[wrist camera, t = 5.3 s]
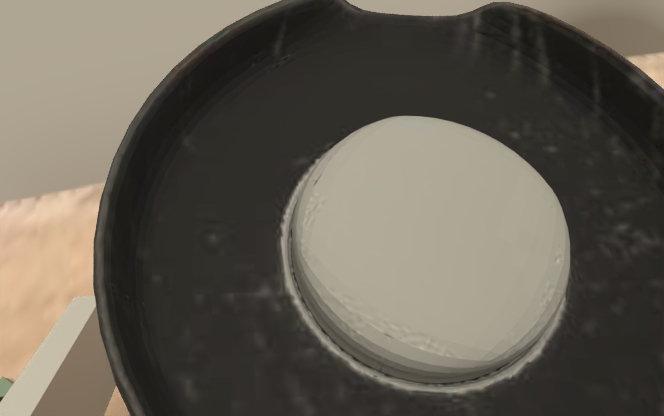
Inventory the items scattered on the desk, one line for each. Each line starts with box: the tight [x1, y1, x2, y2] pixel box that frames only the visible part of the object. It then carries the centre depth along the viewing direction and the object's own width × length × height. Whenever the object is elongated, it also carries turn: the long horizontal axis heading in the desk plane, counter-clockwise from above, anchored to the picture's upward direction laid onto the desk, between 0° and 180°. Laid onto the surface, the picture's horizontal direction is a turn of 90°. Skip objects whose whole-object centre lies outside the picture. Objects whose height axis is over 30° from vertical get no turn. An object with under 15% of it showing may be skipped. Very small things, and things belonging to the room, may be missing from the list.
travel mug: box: [93, 0, 664, 416], centre depth 15 cm, size 8×8×20 cm
